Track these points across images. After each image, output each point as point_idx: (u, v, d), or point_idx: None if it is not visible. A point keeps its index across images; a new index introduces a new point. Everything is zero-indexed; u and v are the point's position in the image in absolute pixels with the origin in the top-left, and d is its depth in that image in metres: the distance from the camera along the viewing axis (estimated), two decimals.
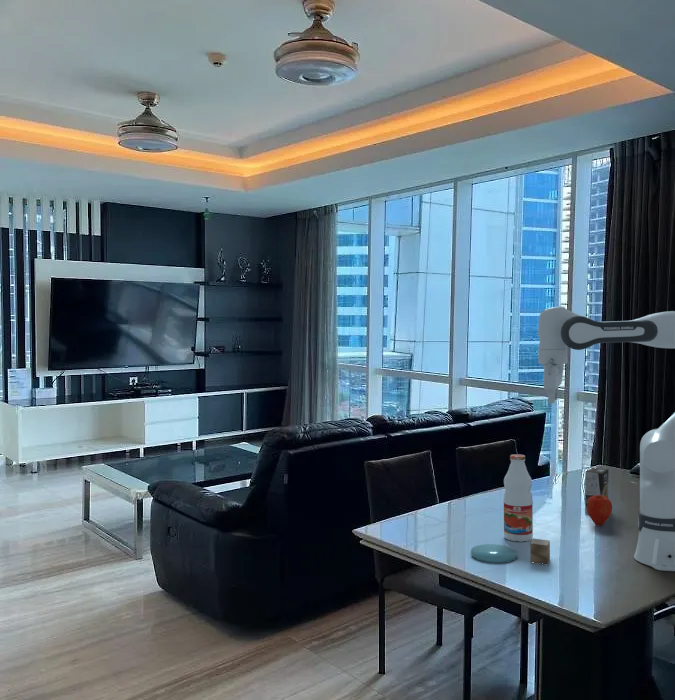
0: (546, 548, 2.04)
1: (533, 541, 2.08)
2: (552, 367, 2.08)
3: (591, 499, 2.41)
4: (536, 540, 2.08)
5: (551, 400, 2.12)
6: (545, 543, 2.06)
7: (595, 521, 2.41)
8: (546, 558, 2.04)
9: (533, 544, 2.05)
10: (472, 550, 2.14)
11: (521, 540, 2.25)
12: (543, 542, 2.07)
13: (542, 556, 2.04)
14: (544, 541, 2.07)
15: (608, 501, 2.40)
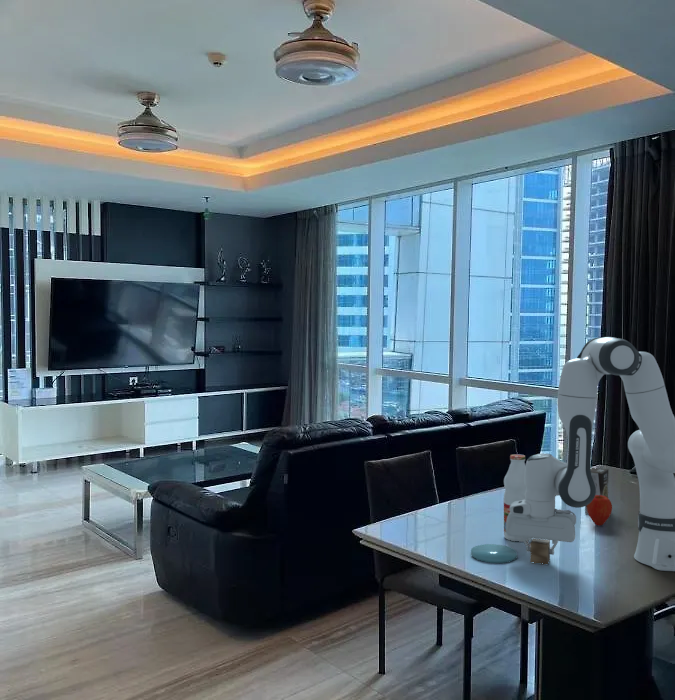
0: (546, 548, 2.04)
1: (533, 541, 2.08)
2: None
3: None
4: (536, 540, 2.08)
5: (553, 551, 2.06)
6: (545, 542, 2.06)
7: (595, 521, 2.41)
8: (546, 558, 2.04)
9: (533, 544, 2.05)
10: (472, 550, 2.14)
11: (521, 540, 2.25)
12: (543, 542, 2.07)
13: (542, 556, 2.04)
14: (544, 541, 2.07)
15: (608, 501, 2.40)
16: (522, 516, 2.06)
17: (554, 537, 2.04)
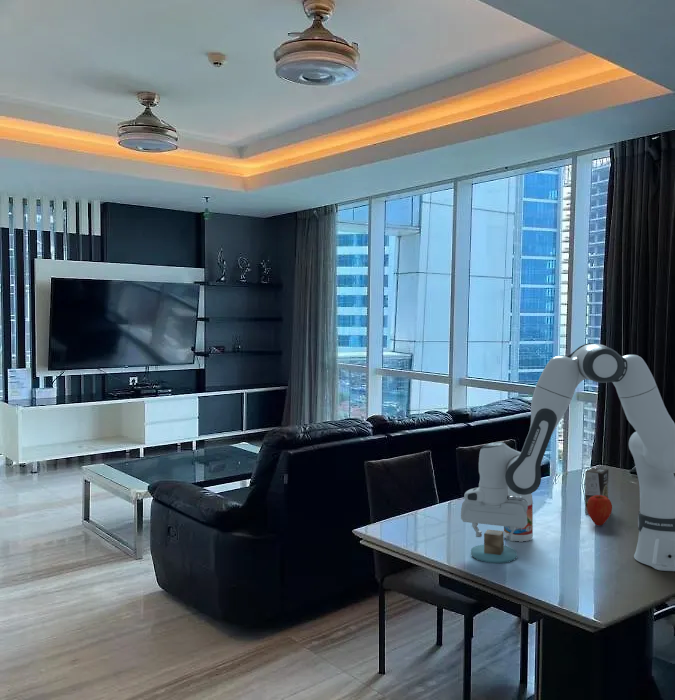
0: (499, 538, 2.10)
1: (487, 532, 2.13)
2: None
3: (591, 499, 2.41)
4: (490, 531, 2.14)
5: (511, 537, 2.11)
6: (498, 533, 2.12)
7: (595, 521, 2.41)
8: (499, 548, 2.10)
9: (487, 535, 2.11)
10: (472, 550, 2.14)
11: (521, 540, 2.25)
12: (496, 532, 2.12)
13: (496, 546, 2.10)
14: (498, 532, 2.13)
15: (608, 501, 2.40)
16: (476, 503, 2.12)
17: (506, 523, 2.09)
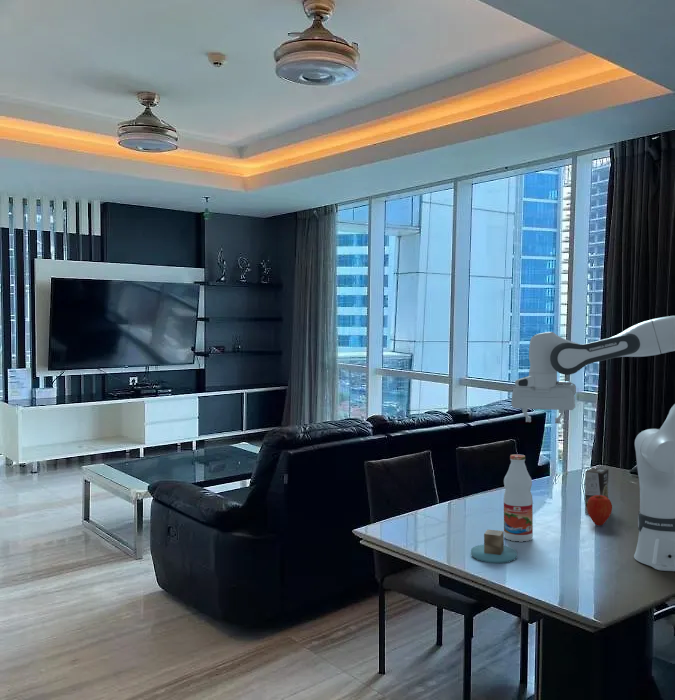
0: (499, 538, 2.10)
1: (487, 532, 2.13)
2: None
3: (591, 499, 2.41)
4: (490, 531, 2.14)
5: None
6: (498, 533, 2.12)
7: (595, 521, 2.41)
8: (499, 548, 2.10)
9: (487, 535, 2.11)
10: (472, 550, 2.14)
11: (521, 540, 2.25)
12: (496, 532, 2.12)
13: (496, 546, 2.10)
14: (498, 532, 2.13)
15: (608, 501, 2.40)
16: (526, 388, 2.26)
17: (556, 406, 2.23)
